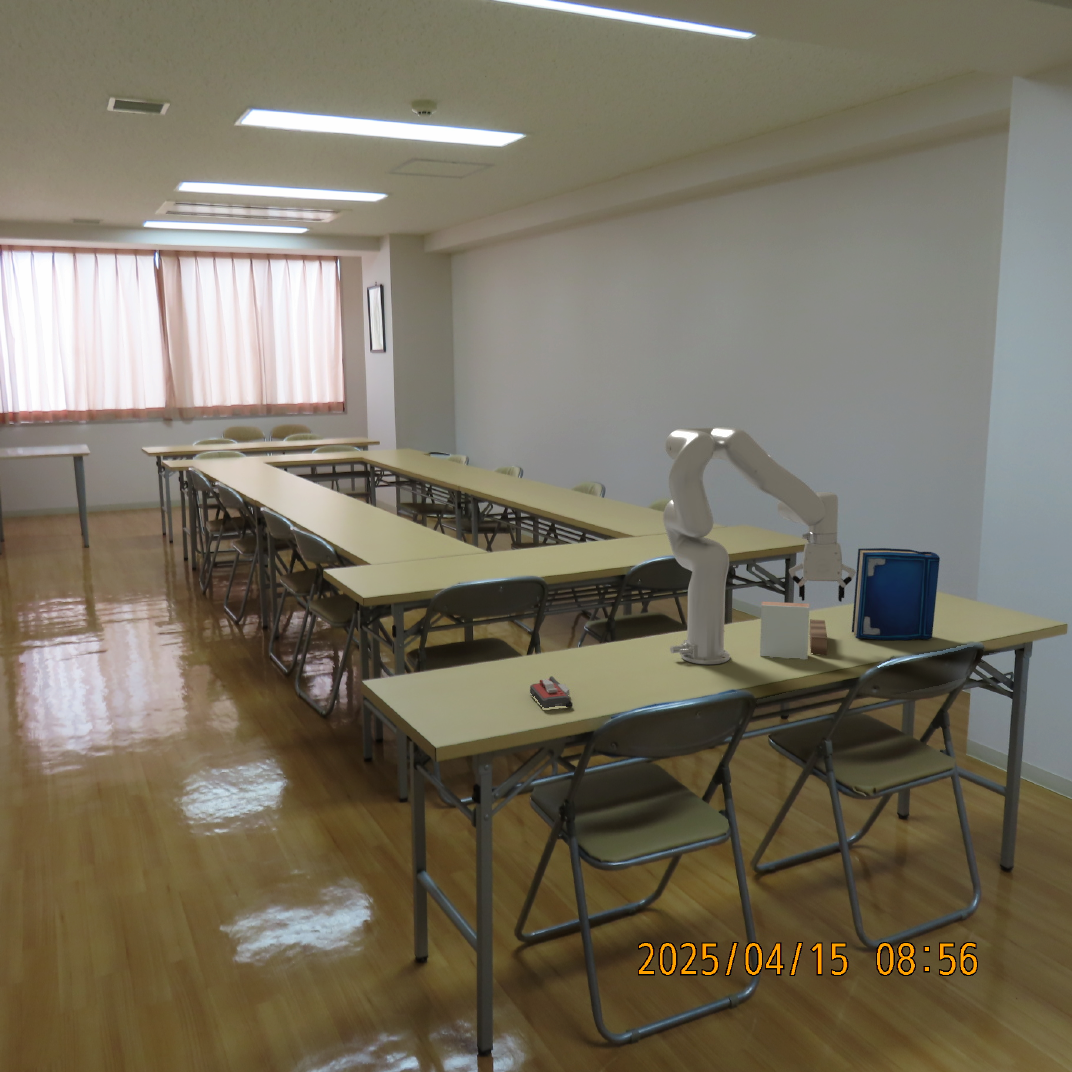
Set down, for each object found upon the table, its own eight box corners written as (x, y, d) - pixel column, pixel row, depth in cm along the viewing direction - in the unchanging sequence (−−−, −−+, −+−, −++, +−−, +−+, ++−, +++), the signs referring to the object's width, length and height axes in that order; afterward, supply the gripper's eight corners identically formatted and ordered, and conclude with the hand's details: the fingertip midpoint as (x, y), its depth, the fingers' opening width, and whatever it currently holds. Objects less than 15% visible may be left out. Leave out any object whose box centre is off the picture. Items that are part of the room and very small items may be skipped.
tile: (807, 659, 241) (809, 607, 239) (760, 656, 244) (761, 605, 242) (806, 655, 245) (808, 603, 243) (760, 652, 248) (761, 601, 246)
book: (929, 634, 262) (934, 547, 258) (937, 641, 255) (943, 552, 251) (850, 633, 264) (854, 547, 260) (856, 640, 257) (861, 552, 253)
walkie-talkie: (581, 710, 209) (555, 682, 228) (581, 691, 208) (555, 665, 227) (544, 714, 206) (520, 686, 225) (543, 695, 206) (520, 668, 225)
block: (826, 656, 245) (827, 637, 244) (810, 655, 246) (811, 636, 245) (824, 637, 262) (824, 620, 261) (809, 636, 263) (810, 619, 262)
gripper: (789, 540, 247) (788, 602, 250) (857, 541, 243) (855, 604, 246) (789, 535, 254) (788, 595, 258) (855, 536, 250) (853, 597, 253)
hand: (821, 600), depth 252 cm, fingers open, 9 cm apart
